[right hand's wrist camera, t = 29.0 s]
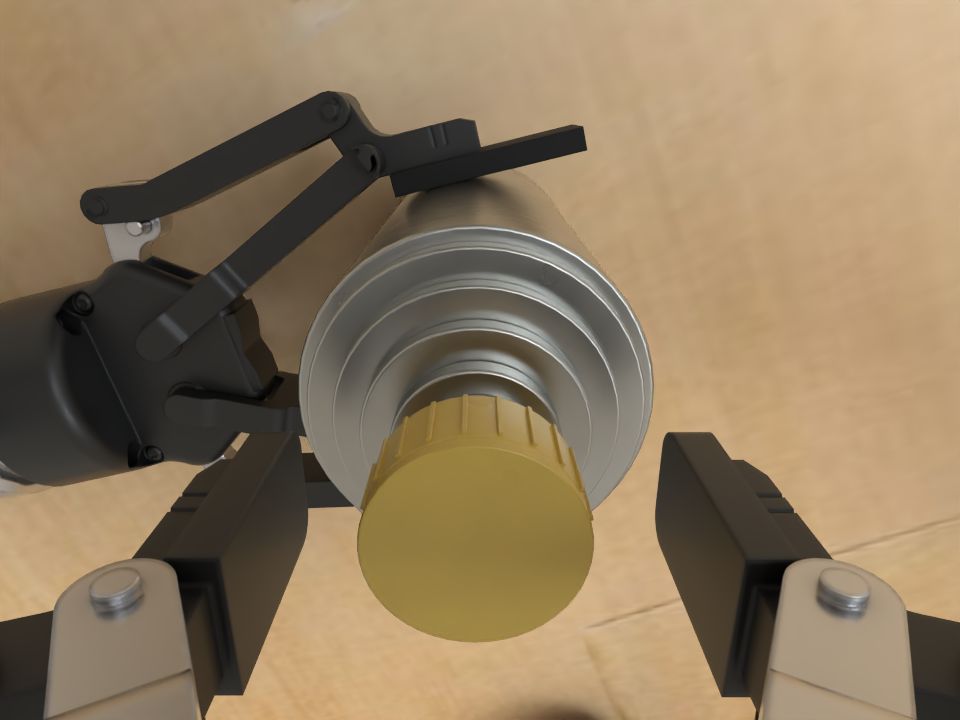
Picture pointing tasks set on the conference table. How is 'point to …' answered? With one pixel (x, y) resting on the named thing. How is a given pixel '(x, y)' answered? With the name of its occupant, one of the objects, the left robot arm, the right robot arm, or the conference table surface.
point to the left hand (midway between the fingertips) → (600, 263)
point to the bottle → (476, 332)
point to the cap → (475, 521)
